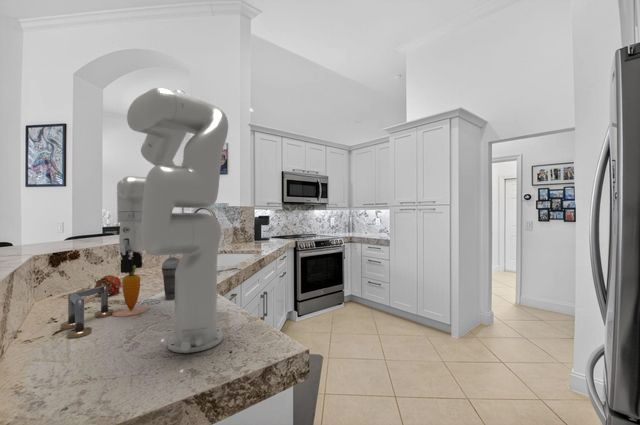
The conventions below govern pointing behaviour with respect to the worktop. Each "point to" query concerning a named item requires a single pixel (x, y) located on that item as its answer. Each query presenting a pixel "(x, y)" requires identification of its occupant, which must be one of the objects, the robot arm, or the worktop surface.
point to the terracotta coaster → (130, 311)
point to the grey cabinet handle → (78, 311)
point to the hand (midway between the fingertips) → (132, 270)
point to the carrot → (131, 288)
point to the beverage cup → (169, 276)
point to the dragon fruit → (109, 283)
